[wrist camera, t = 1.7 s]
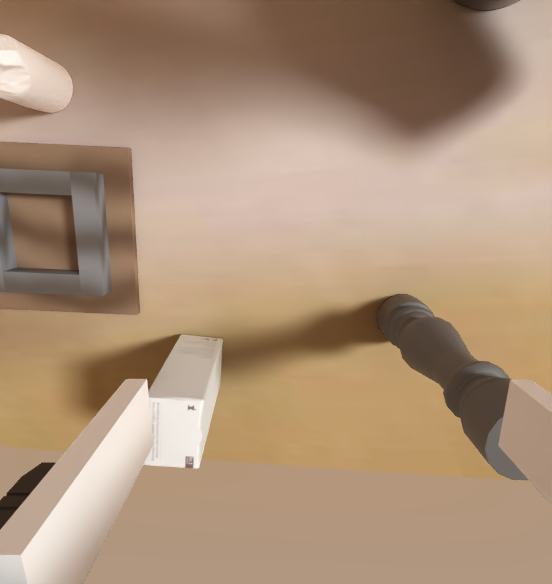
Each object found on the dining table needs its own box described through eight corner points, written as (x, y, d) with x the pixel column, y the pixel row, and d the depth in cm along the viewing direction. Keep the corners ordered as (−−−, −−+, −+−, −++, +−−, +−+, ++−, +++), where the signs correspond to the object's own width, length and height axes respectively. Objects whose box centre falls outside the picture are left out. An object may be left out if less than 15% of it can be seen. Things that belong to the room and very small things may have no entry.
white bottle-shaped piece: (-16, 1, 28) (0, 82, 29) (69, 58, 40) (78, 114, 41) (-93, 4, 28) (-73, 84, 30) (15, 60, 40) (25, 116, 41)
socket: (-42, 140, 42) (-70, 135, 38) (131, 148, 42) (118, 144, 39) (-15, 305, 47) (-37, 314, 44) (139, 312, 47) (129, 321, 44)
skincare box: (180, 332, 48) (139, 391, 33) (226, 337, 48) (204, 398, 34) (178, 389, 50) (137, 467, 36) (221, 393, 50) (198, 473, 36)
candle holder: (425, 335, 48) (577, 477, 24) (378, 341, 48) (481, 489, 24) (423, 290, 46) (583, 393, 22) (374, 297, 46) (480, 407, 22)
